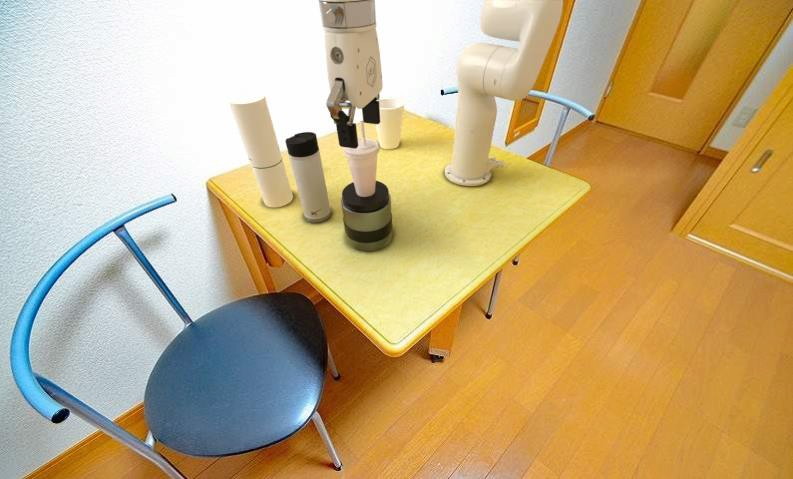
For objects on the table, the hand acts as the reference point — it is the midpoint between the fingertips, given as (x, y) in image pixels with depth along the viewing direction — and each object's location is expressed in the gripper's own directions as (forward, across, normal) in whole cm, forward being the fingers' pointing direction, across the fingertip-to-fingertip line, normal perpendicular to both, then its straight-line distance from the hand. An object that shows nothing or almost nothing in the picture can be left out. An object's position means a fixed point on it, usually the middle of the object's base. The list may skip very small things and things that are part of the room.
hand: (361, 134), depth 56 cm
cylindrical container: (+23, +5, +28) cm, 37 cm away
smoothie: (+12, 0, 0) cm, 12 cm away
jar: (+23, -1, 0) cm, 23 cm away
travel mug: (+23, +3, +15) cm, 28 cm away
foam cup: (+24, +43, +11) cm, 50 cm away
